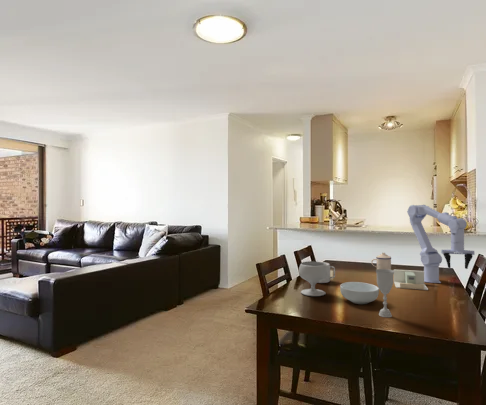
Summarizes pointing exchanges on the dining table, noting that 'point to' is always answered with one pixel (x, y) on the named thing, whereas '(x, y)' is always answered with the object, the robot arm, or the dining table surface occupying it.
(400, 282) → the cream l-shaped stand
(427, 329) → the dining table surface
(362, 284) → the cereal bowl
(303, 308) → the dining table surface
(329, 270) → the mug
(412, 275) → the cabinet block
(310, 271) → the chalice
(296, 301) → the dining table surface
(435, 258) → the robot arm
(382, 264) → the teacup with lid
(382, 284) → the chalice
